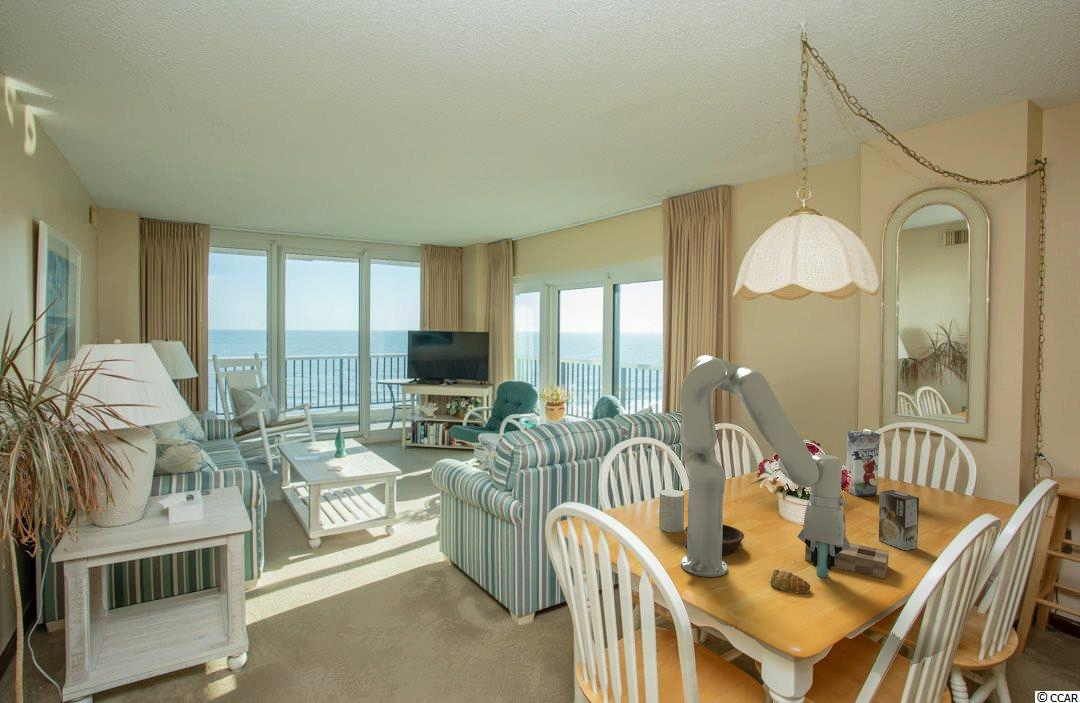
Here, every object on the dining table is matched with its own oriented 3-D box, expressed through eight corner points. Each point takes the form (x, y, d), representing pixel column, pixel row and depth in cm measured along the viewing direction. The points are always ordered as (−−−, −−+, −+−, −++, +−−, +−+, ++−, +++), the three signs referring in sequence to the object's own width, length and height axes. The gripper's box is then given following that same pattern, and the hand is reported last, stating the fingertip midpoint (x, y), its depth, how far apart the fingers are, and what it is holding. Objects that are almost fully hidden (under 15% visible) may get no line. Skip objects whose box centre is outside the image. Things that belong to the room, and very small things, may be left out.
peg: (827, 578, 152) (828, 542, 151) (815, 575, 154) (816, 540, 153) (829, 575, 154) (830, 539, 154) (817, 572, 156) (818, 537, 155)
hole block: (884, 579, 152) (885, 562, 152) (805, 560, 164) (805, 545, 164) (888, 566, 160) (888, 551, 160) (811, 549, 172) (812, 535, 172)
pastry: (812, 588, 147) (812, 574, 147) (806, 598, 141) (807, 583, 141) (774, 578, 152) (775, 564, 152) (768, 587, 147) (768, 573, 147)
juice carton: (842, 491, 233) (844, 427, 231) (864, 490, 235) (866, 426, 233) (857, 497, 224) (860, 431, 223) (880, 496, 226) (883, 430, 225)
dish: (760, 549, 172) (761, 533, 172) (712, 565, 160) (712, 548, 160) (715, 531, 187) (715, 516, 187) (667, 545, 175) (668, 529, 175)
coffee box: (918, 548, 173) (921, 497, 172) (904, 551, 171) (906, 499, 170) (891, 537, 182) (892, 489, 181) (876, 540, 180) (878, 491, 179)
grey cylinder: (654, 525, 191) (654, 491, 191) (672, 522, 195) (673, 488, 194) (669, 533, 184) (670, 497, 183) (688, 529, 188) (689, 494, 187)
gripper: (860, 503, 151) (858, 569, 152) (795, 492, 161) (793, 554, 162) (857, 510, 145) (854, 579, 146) (789, 498, 155) (787, 563, 155)
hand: (822, 565), depth 154 cm, fingers closed on peg, 3 cm apart
